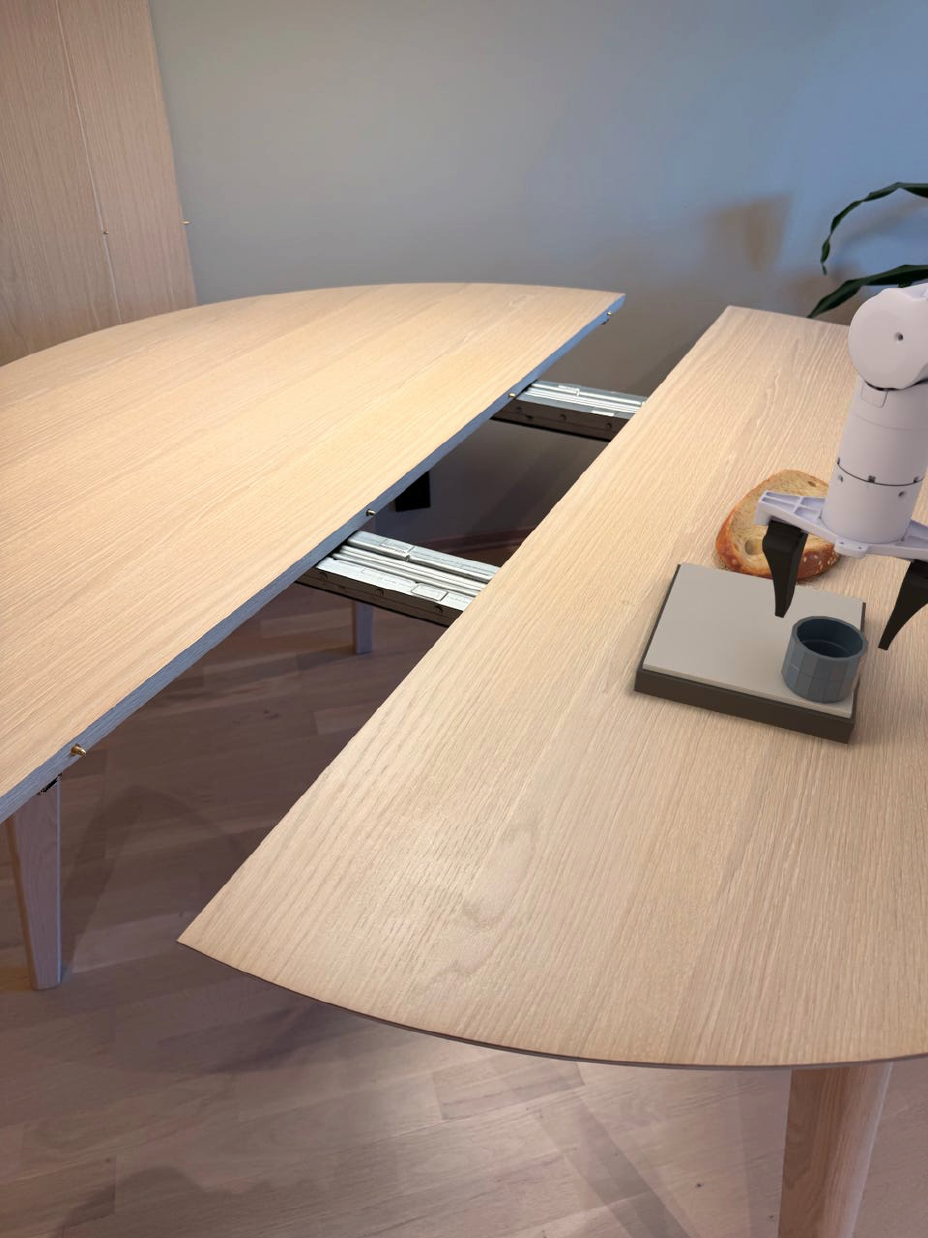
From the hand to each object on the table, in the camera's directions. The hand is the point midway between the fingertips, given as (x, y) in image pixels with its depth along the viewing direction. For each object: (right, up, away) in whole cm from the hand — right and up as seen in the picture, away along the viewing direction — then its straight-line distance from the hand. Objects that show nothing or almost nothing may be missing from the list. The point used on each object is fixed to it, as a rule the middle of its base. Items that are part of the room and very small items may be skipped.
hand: (832, 626), depth 72 cm
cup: (0, -5, +3) cm, 6 cm away
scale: (-3, -3, +11) cm, 11 cm away
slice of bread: (+5, +9, +27) cm, 29 cm away
